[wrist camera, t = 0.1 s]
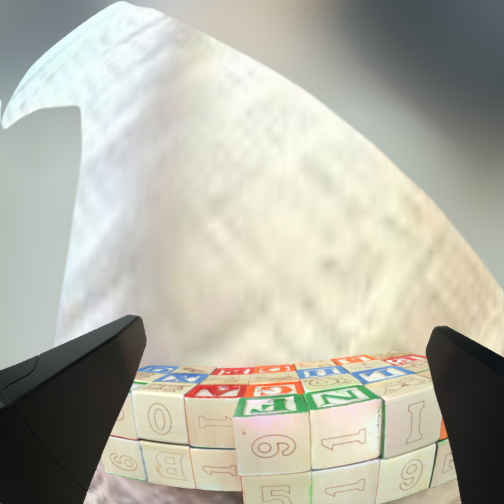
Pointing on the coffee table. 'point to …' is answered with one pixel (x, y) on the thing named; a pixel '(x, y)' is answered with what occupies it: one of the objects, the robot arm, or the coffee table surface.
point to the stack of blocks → (287, 430)
